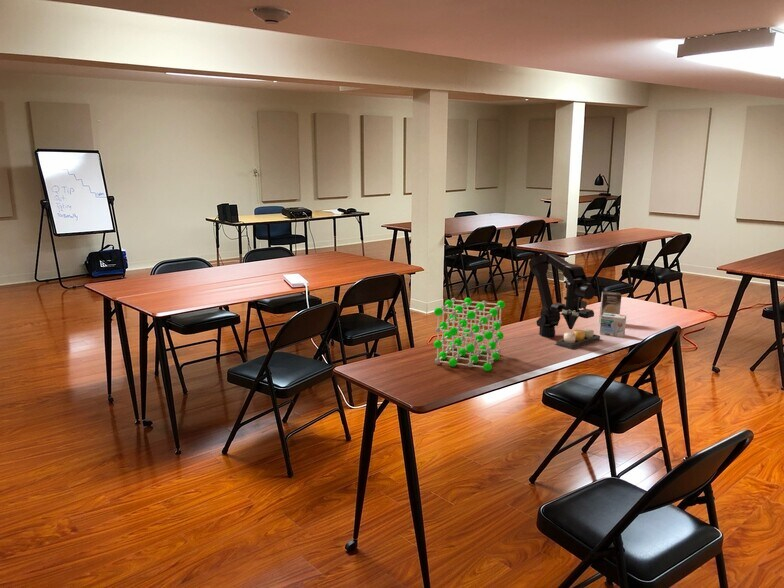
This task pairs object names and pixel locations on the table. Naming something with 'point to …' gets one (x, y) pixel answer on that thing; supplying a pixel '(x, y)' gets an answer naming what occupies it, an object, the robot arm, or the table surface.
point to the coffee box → (610, 303)
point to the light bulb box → (613, 324)
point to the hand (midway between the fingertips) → (570, 329)
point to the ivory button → (569, 338)
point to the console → (578, 342)
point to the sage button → (588, 333)
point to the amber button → (579, 335)
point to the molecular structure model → (469, 332)
